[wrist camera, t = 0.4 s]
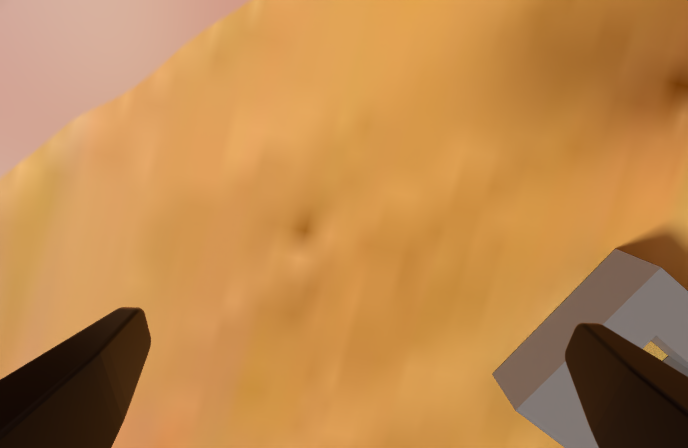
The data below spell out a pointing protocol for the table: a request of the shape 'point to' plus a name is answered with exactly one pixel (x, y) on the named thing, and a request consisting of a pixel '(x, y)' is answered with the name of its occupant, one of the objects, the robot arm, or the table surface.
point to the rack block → (614, 313)
